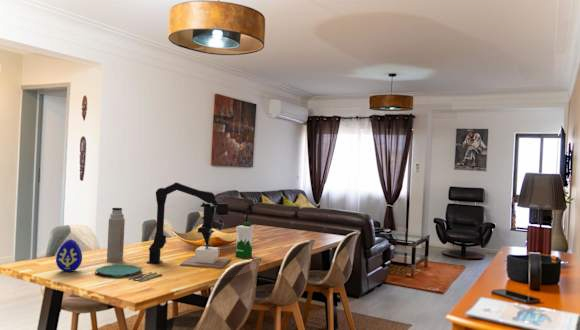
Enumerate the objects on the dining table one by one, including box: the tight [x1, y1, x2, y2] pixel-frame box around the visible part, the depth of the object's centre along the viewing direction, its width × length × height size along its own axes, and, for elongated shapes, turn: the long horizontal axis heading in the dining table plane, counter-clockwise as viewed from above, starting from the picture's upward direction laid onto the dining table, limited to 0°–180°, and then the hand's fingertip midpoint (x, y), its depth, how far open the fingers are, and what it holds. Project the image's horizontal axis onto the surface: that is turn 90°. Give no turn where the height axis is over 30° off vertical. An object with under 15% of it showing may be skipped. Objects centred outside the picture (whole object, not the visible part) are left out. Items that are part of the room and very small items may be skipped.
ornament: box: [55, 239, 83, 273], centre depth 221 cm, size 11×9×15 cm
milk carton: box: [234, 221, 255, 259], centre depth 274 cm, size 9×9×20 cm
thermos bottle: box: [106, 207, 126, 263], centre depth 248 cm, size 8×8×28 cm
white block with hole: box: [194, 245, 219, 263], centre depth 253 cm, size 10×10×7 cm
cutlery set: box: [94, 263, 163, 283], centre depth 220 cm, size 20×30×2 cm, turn 64°
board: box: [179, 255, 232, 269], centre depth 253 cm, size 22×22×1 cm
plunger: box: [202, 242, 213, 249], centre depth 253 cm, size 5×5×7 cm
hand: (207, 243), depth 253 cm, fingers closed, pressing on plunger
